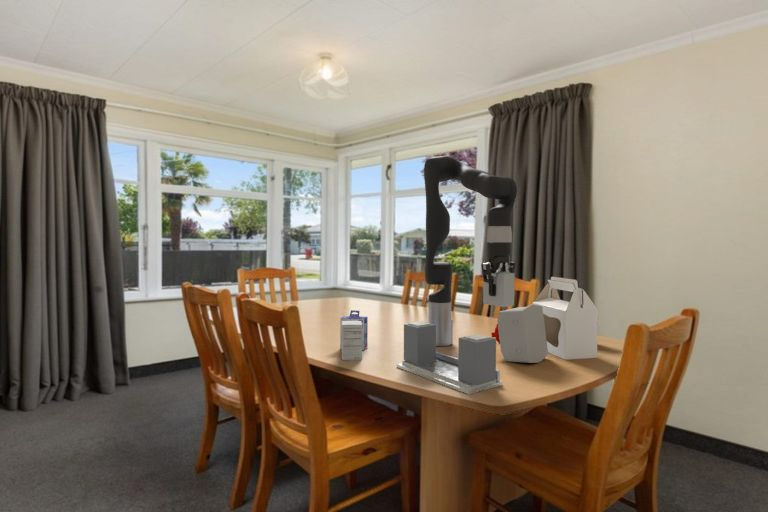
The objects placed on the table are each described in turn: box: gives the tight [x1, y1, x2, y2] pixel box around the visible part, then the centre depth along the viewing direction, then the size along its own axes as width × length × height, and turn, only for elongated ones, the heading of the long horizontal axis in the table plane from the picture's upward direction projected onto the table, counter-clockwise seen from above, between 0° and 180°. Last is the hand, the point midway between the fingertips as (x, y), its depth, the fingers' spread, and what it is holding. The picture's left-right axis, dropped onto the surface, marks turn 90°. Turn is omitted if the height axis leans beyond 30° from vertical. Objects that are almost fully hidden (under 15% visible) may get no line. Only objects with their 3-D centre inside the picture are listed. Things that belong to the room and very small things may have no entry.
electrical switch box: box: [491, 304, 549, 364], centre depth 158 cm, size 15×15×20 cm
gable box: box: [531, 276, 599, 361], centre depth 167 cm, size 22×13×28 cm, turn 12°
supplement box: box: [341, 321, 363, 361], centre depth 157 cm, size 7×7×13 cm
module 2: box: [457, 333, 497, 386], centre depth 126 cm, size 8×7×12 cm
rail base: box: [396, 351, 503, 395], centre depth 137 cm, size 14×32×4 cm, turn 36°
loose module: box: [482, 272, 515, 308], centre depth 138 cm, size 5×8×10 cm, turn 36°
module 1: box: [403, 321, 437, 365], centre depth 146 cm, size 8×7×12 cm
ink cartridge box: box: [339, 309, 369, 351], centre depth 171 cm, size 10×6×14 cm, turn 78°
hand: (498, 295), depth 138 cm, fingers closed on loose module, 5 cm apart
